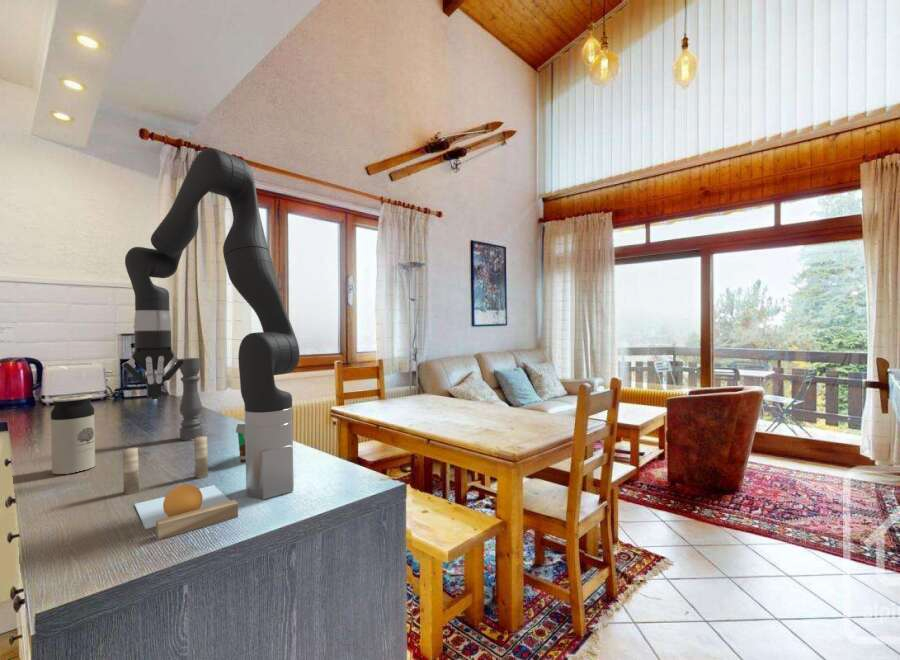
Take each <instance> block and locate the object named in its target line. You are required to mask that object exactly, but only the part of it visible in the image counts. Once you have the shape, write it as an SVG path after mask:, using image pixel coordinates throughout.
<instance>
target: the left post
mask: <svg viewBox="0 0 900 660" xmlns="http://www.w3.org/2000/svg"><path fill="white" fill-rule="evenodd" d="M139 467H140V465H139V447H137V446H136V447H135V446H134V447H128V448H125V449H123V450H122V470H123V471H122V477H123V494H124V495H131V494H135V493H137V492H139V491H140V475H139V473H140V470H139Z"/></svg>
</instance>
